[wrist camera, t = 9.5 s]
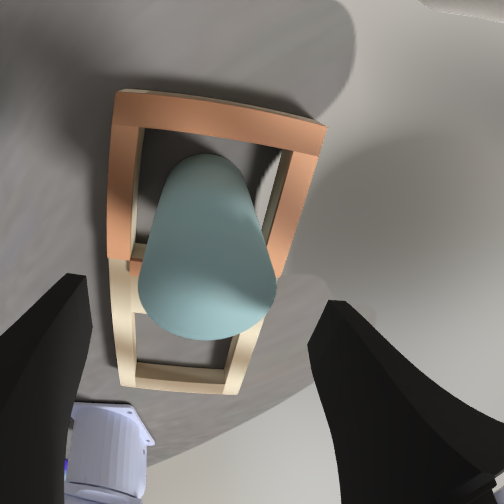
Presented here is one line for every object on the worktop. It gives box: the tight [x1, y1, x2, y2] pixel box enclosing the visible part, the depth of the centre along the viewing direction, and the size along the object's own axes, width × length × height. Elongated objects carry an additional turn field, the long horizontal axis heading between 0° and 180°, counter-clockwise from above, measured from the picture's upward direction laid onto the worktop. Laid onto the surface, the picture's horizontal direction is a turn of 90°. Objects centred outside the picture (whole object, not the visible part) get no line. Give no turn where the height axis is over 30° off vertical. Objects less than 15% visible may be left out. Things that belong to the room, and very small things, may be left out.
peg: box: [138, 154, 277, 340], centre depth 13 cm, size 4×4×8 cm
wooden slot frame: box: [107, 89, 327, 395], centre depth 19 cm, size 21×10×2 cm, turn 167°
